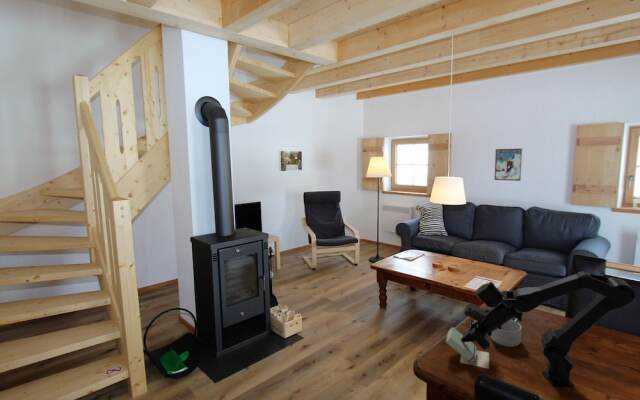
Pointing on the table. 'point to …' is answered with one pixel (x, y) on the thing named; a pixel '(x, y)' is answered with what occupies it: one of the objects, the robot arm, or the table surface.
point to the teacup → (508, 334)
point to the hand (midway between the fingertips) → (461, 340)
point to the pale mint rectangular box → (461, 345)
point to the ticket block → (478, 359)
